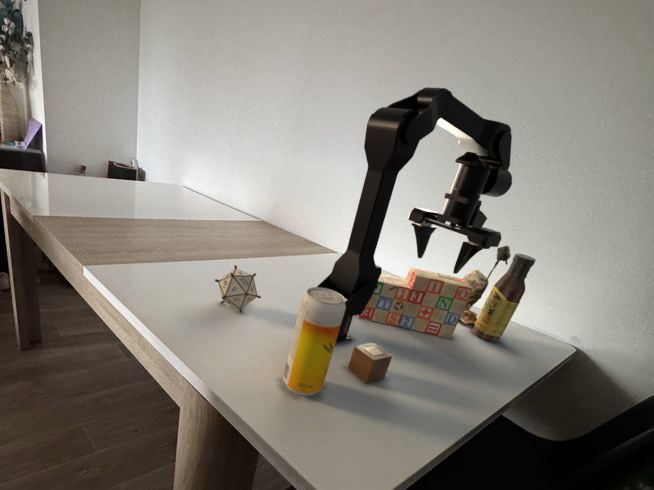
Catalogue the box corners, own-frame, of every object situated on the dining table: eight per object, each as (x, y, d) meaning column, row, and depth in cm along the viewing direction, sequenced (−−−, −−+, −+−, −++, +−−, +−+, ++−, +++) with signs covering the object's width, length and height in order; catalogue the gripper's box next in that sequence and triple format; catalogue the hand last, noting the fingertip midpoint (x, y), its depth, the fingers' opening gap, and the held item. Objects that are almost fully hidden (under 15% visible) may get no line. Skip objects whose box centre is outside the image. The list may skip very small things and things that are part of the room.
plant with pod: (466, 311, 106) (498, 239, 97) (486, 330, 96) (524, 251, 87) (437, 305, 105) (467, 232, 96) (455, 324, 95) (490, 244, 86)
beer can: (327, 397, 58) (355, 305, 51) (289, 398, 56) (313, 303, 49) (313, 373, 63) (336, 287, 56) (277, 373, 61) (297, 284, 54)
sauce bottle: (468, 327, 95) (504, 248, 86) (494, 334, 94) (533, 255, 86) (475, 338, 89) (514, 255, 81) (503, 346, 89) (546, 263, 80)
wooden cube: (365, 383, 63) (374, 360, 61) (347, 368, 66) (354, 345, 64) (384, 378, 66) (392, 355, 64) (365, 364, 69) (373, 342, 67)
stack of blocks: (357, 318, 87) (373, 265, 81) (354, 307, 92) (370, 257, 87) (451, 338, 87) (474, 287, 81) (443, 326, 92) (464, 278, 87)
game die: (241, 322, 82) (277, 293, 79) (219, 320, 74) (257, 288, 71) (221, 289, 85) (255, 259, 81) (197, 283, 77) (233, 251, 74)
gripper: (529, 206, 76) (495, 280, 83) (448, 186, 89) (423, 251, 96) (502, 201, 70) (467, 282, 77) (419, 180, 83) (395, 250, 90)
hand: (436, 265), depth 85 cm, fingers open, 9 cm apart
